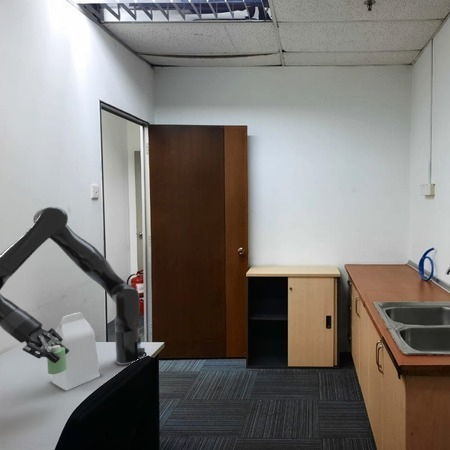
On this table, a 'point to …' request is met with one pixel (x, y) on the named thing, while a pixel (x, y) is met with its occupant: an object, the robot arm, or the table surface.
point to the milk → (77, 352)
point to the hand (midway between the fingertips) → (62, 356)
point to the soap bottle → (60, 364)
